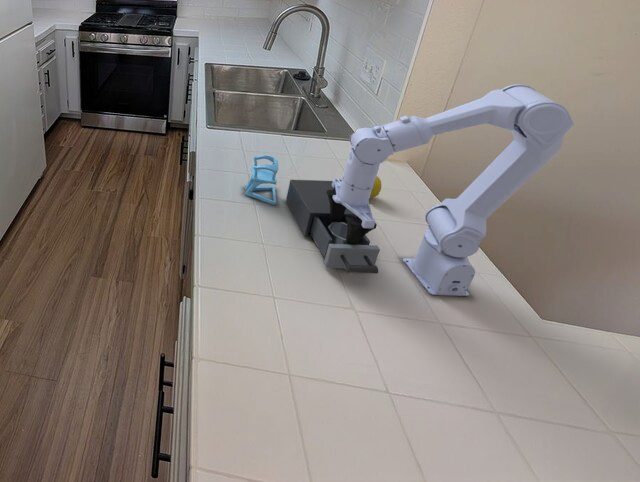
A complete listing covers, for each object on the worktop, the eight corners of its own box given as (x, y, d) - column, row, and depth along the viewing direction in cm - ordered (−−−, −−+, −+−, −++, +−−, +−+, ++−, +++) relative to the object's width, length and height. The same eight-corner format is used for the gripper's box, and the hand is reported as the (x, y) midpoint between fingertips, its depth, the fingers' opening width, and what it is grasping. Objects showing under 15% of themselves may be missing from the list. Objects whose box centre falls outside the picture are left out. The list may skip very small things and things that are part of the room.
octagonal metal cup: (358, 256, 87) (363, 240, 85) (332, 255, 87) (336, 239, 85) (345, 237, 92) (350, 222, 90) (321, 236, 92) (325, 221, 90)
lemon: (380, 205, 106) (388, 181, 103) (358, 202, 107) (365, 178, 104) (372, 193, 111) (380, 169, 108) (352, 190, 112) (358, 167, 109)
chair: (245, 184, 115) (250, 149, 110) (274, 189, 113) (281, 153, 108) (244, 199, 108) (250, 163, 103) (276, 205, 106) (283, 168, 101)
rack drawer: (384, 285, 81) (392, 265, 78) (334, 283, 81) (340, 263, 79) (345, 229, 96) (351, 210, 94) (303, 228, 96) (308, 209, 94)
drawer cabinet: (352, 239, 94) (359, 214, 91) (304, 237, 95) (310, 212, 92) (327, 203, 107) (333, 180, 104) (285, 202, 107) (290, 179, 104)
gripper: (324, 162, 89) (312, 209, 94) (356, 202, 76) (340, 254, 81) (355, 163, 89) (341, 210, 94) (392, 203, 75) (374, 256, 81)
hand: (343, 231), depth 88 cm, fingers open, 7 cm apart
